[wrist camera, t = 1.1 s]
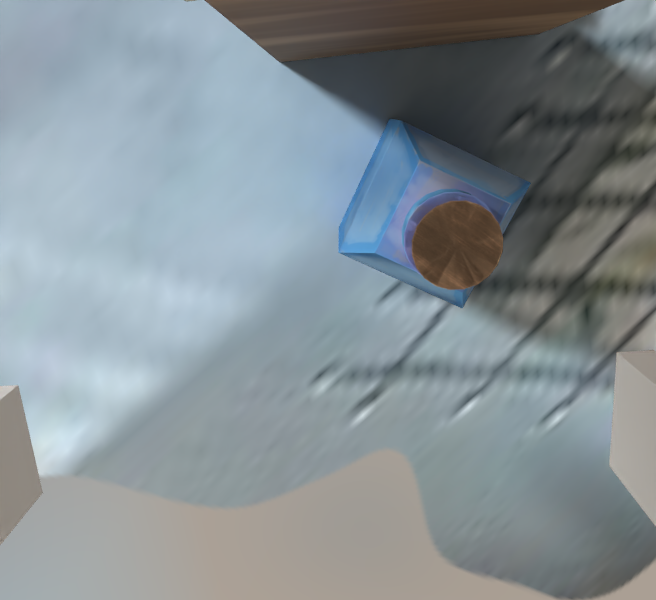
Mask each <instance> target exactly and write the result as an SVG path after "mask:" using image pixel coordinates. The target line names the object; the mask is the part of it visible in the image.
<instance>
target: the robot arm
mask: <svg viewBox="0 0 656 600" xmlns="http://www.w3.org/2000/svg"><path fill="white" fill-rule="evenodd" d="M609 466H610V467H611V469H612V470H613V471H614V473H615V474H616V475H617V477H618V478H619V479H620V480H621V482H622V483H623V484H624V486H625V487H626V488H627V490H628V491H629V492H630V494H631V495H632V496H633V497H634V499H635V500H636V501H637V503H638V504H639V505H640V507H641V508H642V509H643V511H644V512H645V513H646V514H647V516H648V517H649V518H650V520H651V521H652V522H653V524H654V525H655V526H656V352H655V351H654V350H647V351H629V352H617V357H616V372H615V388H614V403H613V419H612V434H611V449H610V465H609ZM42 493H43V492H42V488H41V483H40V479H39V474H38V470H37V466H36V461H35V457H34V453H33V448H32V444H31V439H30V435H29V431H28V426H27V422H26V417H25V413H24V409H23V404H22V400H21V395H20V391H19V387H18V385H12V386H0V545H1V544H2V542H3V541H4V540H5V539H6V538H7V536H8V535H9V534H10V533H11V531H12V530H13V529H14V528H15V526H16V525H17V524H18V523H19V521H20V520H21V519H22V518H23V516H24V515H25V514H26V513H27V512H28V510H29V509H30V508H31V507H32V505H33V504H34V503H35V502H36V500H37V499H38V498H39V497H40V495H41V494H42Z"/></svg>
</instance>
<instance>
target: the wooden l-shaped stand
mask: <svg viewBox="0 0 656 600" xmlns="http://www.w3.org/2000/svg"><path fill="white" fill-rule="evenodd" d="M185 1H195V0H185ZM205 1H206V2H207V3H209V4H210V5H211V6H212V7H213V8H215V9H216V10H217V11H218V12H219V13H221V14H222V15H223V16H224V17H226V18H227V19H228V20H229V21H230V22H232V23H233V24H234V25H235V26H236V27H238V28H239V29H240V30H241V31H242V32H244V33H245V34H246V35H247V36H249V37H250V38H251V39H252V40H253V41H255V42H256V43H257V44H258V45H259V46H261V47H262V48H263V49H264V50H265V51H267V52H268V53H269V54H270V55H272V56H273V57H274V58H275V59H276V60H278V61H279V62H286V61H295V60H304V59H313V58H323V57H332V56H341V55H350V54H360V53H369V52H378V51H387V50H397V49H406V48H415V47H424V46H434V45H443V44H452V43H461V42H471V41H480V40H489V39H498V38H508V37H517V36H526V35H535V34H540V33H542V32H545V31H547V30H550V29H553V28H555V27H558V26H560V25H563V24H565V23H568V22H570V21H573V20H576V19H578V18H581V17H583V16H586V15H588V14H591V13H593V12H596V11H598V10H601V9H604V8H606V7H609V6H611V5H614V4H616V3H619V2H621V1H624V0H205Z"/></svg>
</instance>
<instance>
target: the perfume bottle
mask: <svg viewBox="0 0 656 600" xmlns="http://www.w3.org/2000/svg"><path fill="white" fill-rule="evenodd" d="M530 184H531V183H530V182H528V181H526V180H524V179H521V178H519V177H517V176H515V175H513V174H511V173H509V172H507V171H505V170H503V169H501V168H499V167H497V166H494V165H492V164H490V163H488V162H486V161H484V160H482V159H480V158H478V157H476V156H474V155H472V154H470V153H467V152H465V151H463V150H461V149H459V148H457V147H455V146H453V145H451V144H449V143H447V142H445V141H443V140H441V139H438V138H436V137H434V136H432V135H430V134H428V133H426V132H424V131H422V130H420V129H418V128H416V127H414V126H411V125H409V124H407V123H405V122H403V121H401V120H394V119H389V121H388V123H387V125H386V128H385V130H384V132H383V134H382V136H381V138H380V140H379V143H378V145H377V147H376V149H375V151H374V153H373V155H372V158H371V160H370V162H369V164H368V166H367V168H366V170H365V173H364V175H363V177H362V179H361V181H360V183H359V185H358V188H357V190H356V192H355V194H354V196H353V198H352V201H351V203H350V205H349V207H348V209H347V211H346V213H345V216H344V218H343V220H342V222H341V224H340V226H339V253H341V254H343V255H345V256H347V257H350V258H352V259H354V260H356V261H358V262H361V263H363V264H365V265H367V266H370V267H372V268H374V269H376V270H378V271H381V272H383V273H385V274H387V275H389V276H392V277H394V278H396V279H398V280H401V281H403V282H405V283H407V284H409V285H412V286H414V287H416V288H418V289H420V290H423V291H425V292H427V293H429V294H432V295H434V296H436V297H438V298H440V299H443V300H445V301H447V302H449V303H451V304H454V305H456V306H458V307H460V308H463V306H464V304H465V302H466V301H467V299H468V297H469V295H470V293H471V292H472V290H473V288H474V286H475V285H477V284H479V283H480V282H481V281H483V280H484V279H486V278H487V277H488V276H489V275H490V274H491V273H492V271H493V270H494V269H495V267H496V266H497V265H498V262H499V260H500V257H501V254H502V251H503V233H504V231H505V230H506V228H507V226H508V224H509V222H510V220H511V219H512V217H513V215H514V213H515V211H516V209H517V208H518V206H519V204H520V202H521V200H522V199H523V197H524V195H525V193H526V191H527V189H528V188H529V186H530Z"/></svg>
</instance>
